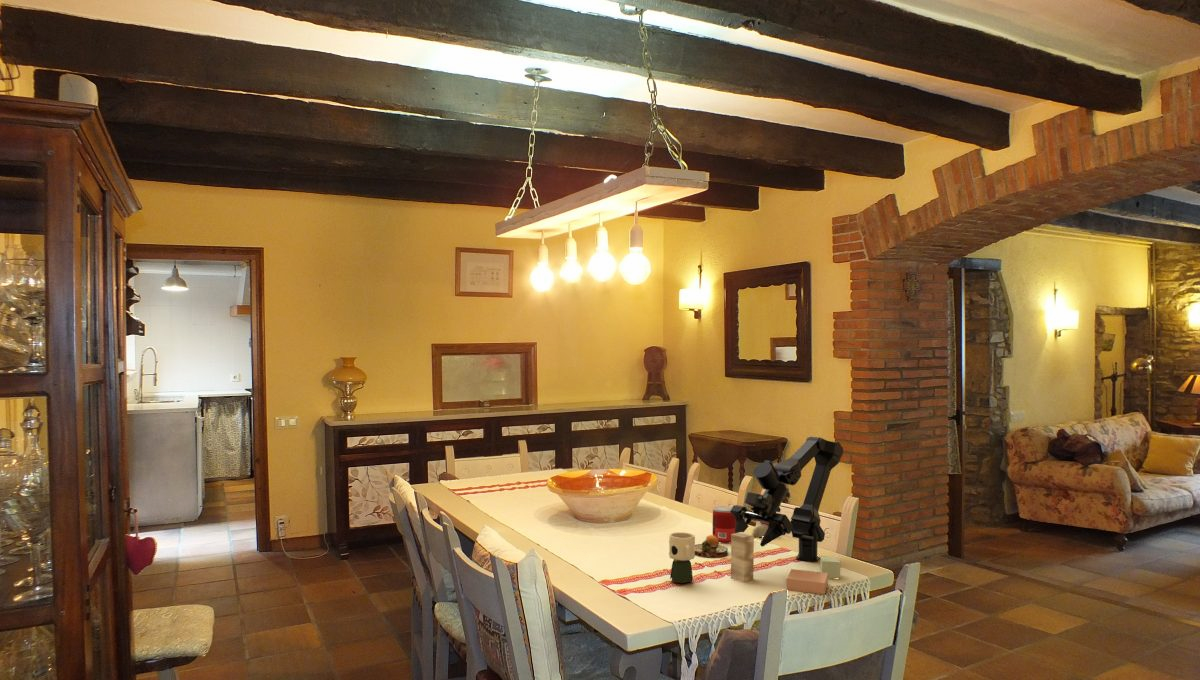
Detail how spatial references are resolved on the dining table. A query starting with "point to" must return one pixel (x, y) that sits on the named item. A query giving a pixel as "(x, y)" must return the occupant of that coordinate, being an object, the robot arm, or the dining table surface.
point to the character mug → (681, 556)
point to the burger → (711, 548)
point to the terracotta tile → (807, 581)
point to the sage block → (830, 566)
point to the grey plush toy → (760, 529)
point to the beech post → (742, 556)
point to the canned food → (723, 523)
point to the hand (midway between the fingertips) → (748, 542)
